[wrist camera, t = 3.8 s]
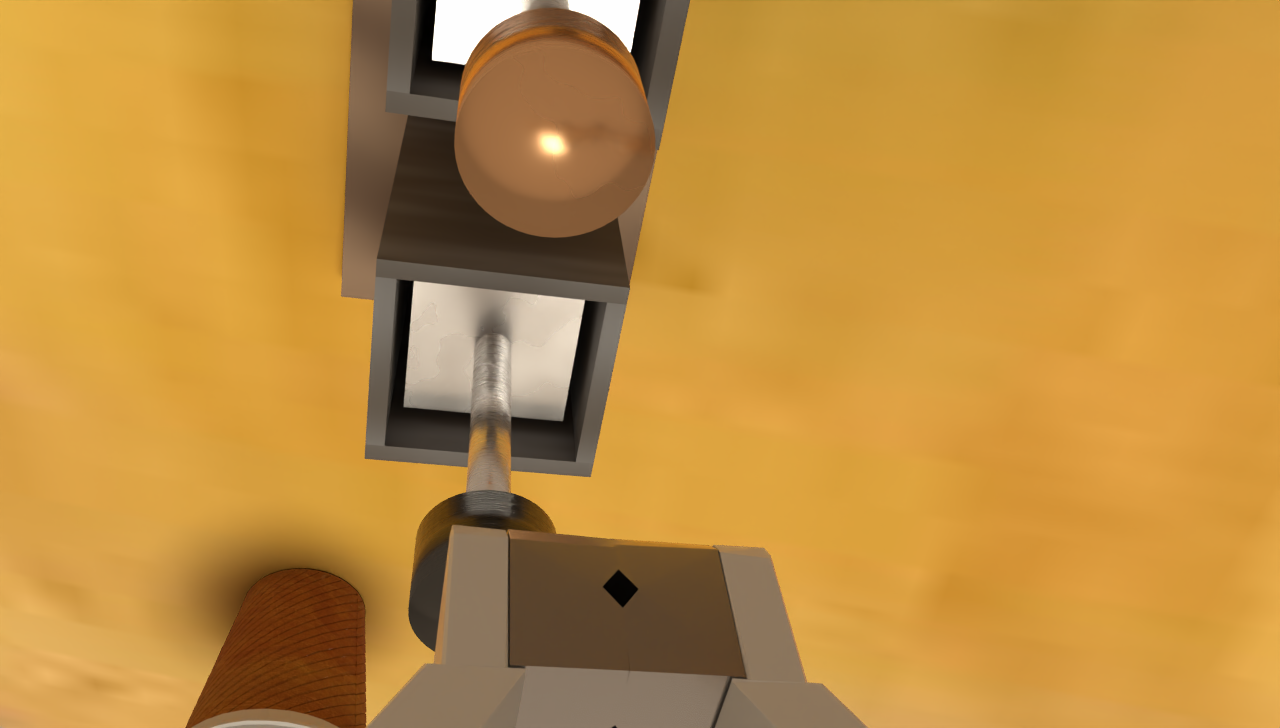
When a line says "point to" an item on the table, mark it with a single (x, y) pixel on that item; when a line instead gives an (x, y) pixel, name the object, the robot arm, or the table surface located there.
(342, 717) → the disposable coffee cup
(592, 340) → the stand
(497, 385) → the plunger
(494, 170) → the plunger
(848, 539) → the table surface
